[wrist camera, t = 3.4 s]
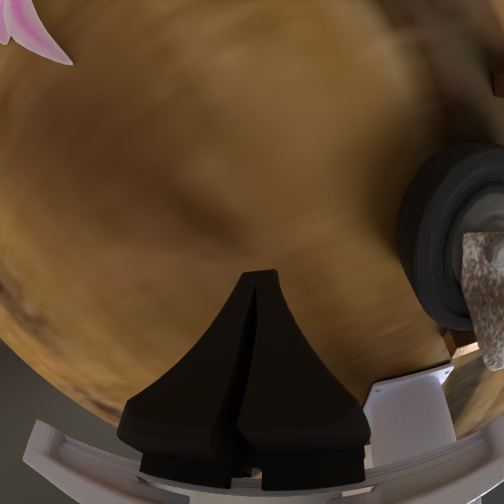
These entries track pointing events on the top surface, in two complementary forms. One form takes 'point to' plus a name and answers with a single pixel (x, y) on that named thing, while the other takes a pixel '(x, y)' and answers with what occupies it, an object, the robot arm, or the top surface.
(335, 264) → the top surface
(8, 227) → the top surface
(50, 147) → the top surface
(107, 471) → the robot arm
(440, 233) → the caster wheel
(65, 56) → the lily
